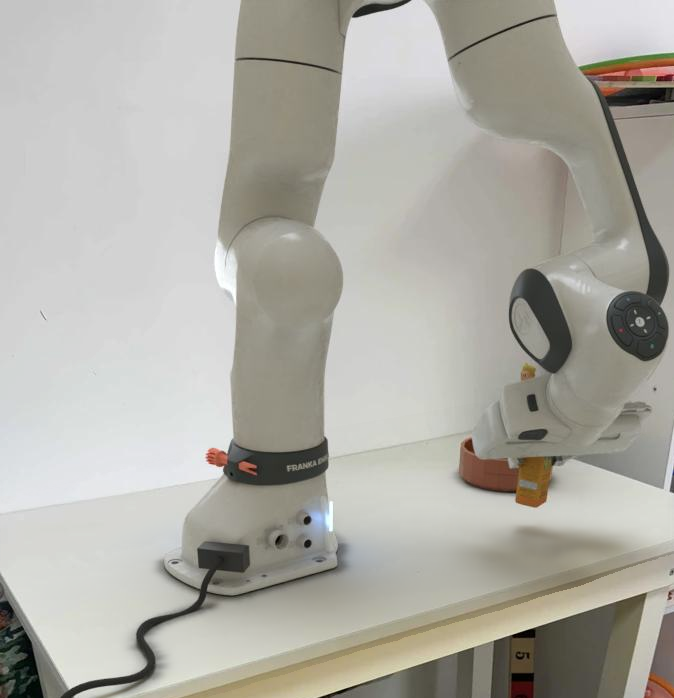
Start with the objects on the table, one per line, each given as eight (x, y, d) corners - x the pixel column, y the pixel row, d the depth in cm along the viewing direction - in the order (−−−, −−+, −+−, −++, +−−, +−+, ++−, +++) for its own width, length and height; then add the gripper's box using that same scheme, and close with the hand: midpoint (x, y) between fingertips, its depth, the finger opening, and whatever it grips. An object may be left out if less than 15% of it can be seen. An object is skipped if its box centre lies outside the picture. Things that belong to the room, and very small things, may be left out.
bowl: (515, 499, 128) (519, 467, 125) (440, 477, 137) (442, 446, 134) (568, 477, 137) (572, 446, 134) (494, 458, 146) (496, 428, 143)
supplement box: (538, 509, 114) (547, 434, 109) (514, 503, 116) (522, 429, 111) (549, 502, 116) (558, 428, 112) (525, 496, 118) (533, 424, 114)
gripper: (652, 380, 104) (602, 437, 117) (489, 385, 100) (456, 444, 113) (665, 426, 102) (613, 480, 115) (498, 433, 98) (464, 488, 111)
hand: (534, 462), depth 114 cm, fingers closed on supplement box, 4 cm apart
